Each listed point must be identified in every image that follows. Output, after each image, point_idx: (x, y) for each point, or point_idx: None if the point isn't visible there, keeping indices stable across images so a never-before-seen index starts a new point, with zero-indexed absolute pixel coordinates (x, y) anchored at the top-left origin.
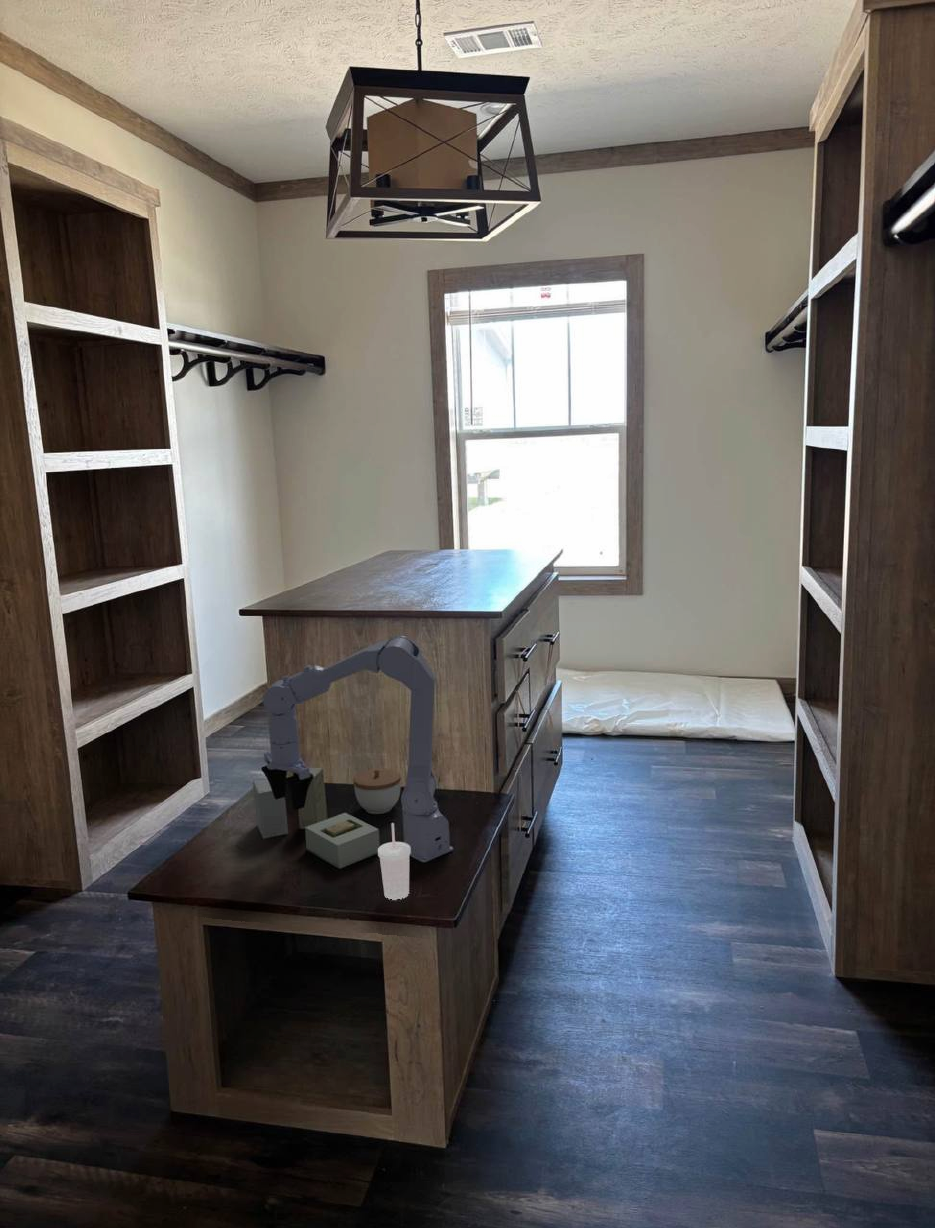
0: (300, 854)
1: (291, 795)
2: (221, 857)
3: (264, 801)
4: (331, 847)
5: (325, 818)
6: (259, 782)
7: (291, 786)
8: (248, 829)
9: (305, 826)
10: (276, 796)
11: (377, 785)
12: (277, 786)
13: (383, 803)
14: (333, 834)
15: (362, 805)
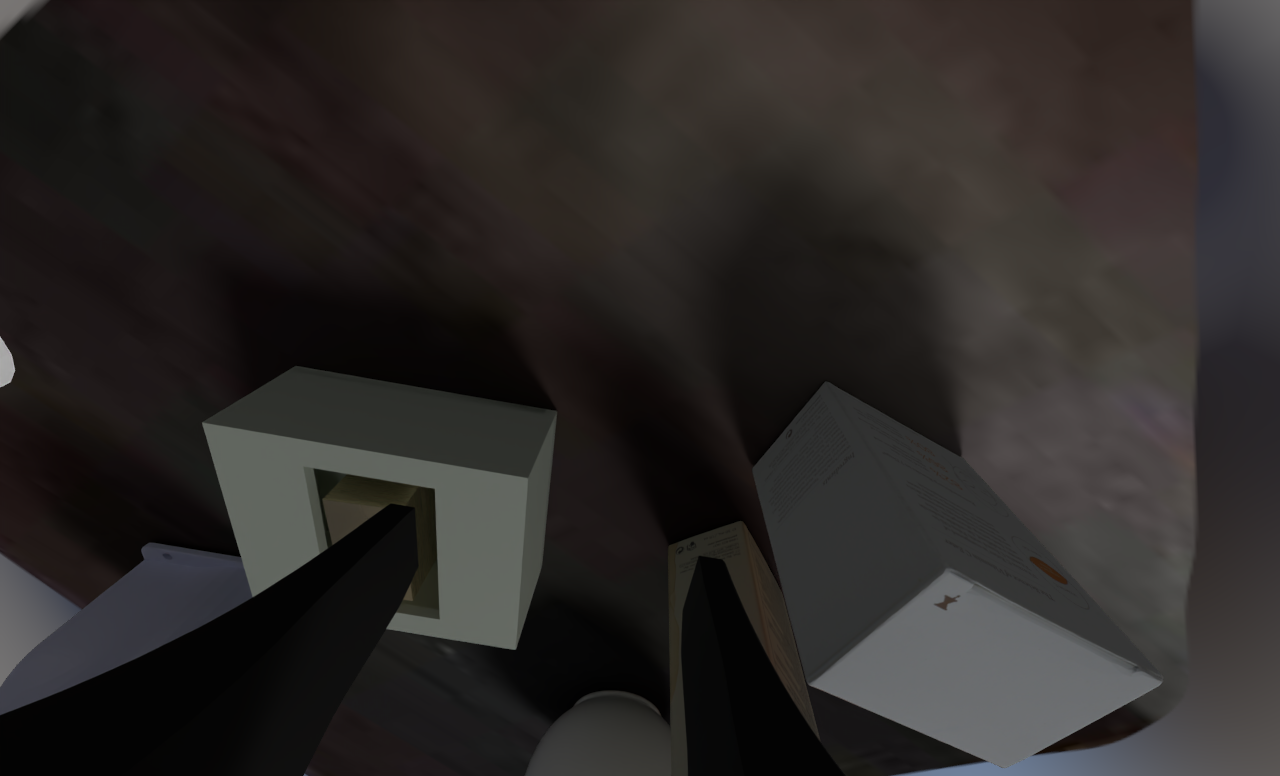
0: (543, 369)
1: (301, 599)
2: (890, 98)
3: (882, 535)
4: (287, 416)
5: None
6: (1089, 686)
7: (20, 710)
8: (978, 411)
9: (717, 537)
10: (698, 579)
11: None
12: (706, 678)
13: (540, 743)
14: (341, 492)
15: (619, 713)
